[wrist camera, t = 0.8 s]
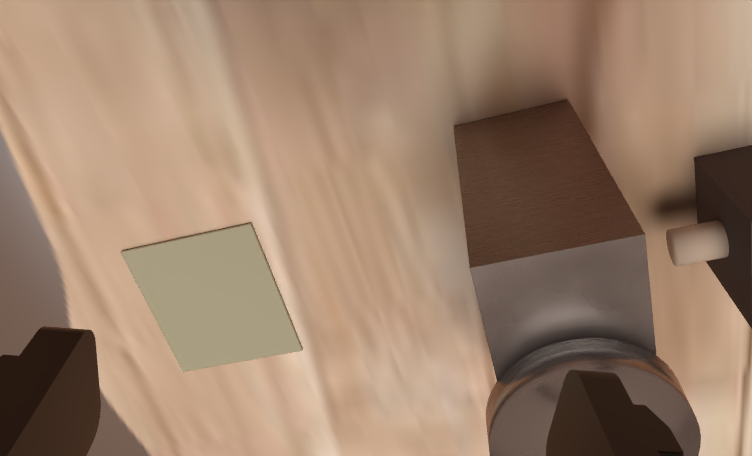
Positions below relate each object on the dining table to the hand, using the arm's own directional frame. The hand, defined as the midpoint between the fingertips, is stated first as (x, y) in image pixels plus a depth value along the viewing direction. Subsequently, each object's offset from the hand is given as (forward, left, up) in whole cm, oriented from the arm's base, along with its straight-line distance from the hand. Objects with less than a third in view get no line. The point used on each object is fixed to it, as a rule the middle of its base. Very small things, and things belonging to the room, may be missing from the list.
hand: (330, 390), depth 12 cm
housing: (-5, +10, -20) cm, 23 cm away
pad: (+12, +10, -20) cm, 25 cm away
